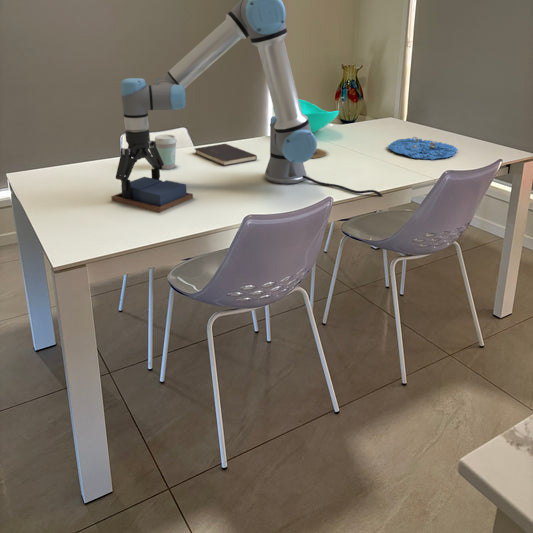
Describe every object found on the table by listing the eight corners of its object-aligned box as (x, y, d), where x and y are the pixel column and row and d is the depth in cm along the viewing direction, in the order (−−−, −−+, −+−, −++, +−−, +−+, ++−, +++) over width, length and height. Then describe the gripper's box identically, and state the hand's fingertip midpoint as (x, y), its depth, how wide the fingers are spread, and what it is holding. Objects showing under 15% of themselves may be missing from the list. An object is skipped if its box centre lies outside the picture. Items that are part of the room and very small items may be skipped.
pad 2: (187, 198, 195) (186, 184, 193) (160, 210, 185) (159, 195, 183) (167, 194, 199) (166, 180, 197) (140, 205, 189) (139, 190, 187)
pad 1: (163, 194, 199) (162, 180, 197) (140, 203, 190) (139, 189, 188) (145, 190, 202) (144, 176, 200) (122, 199, 194) (121, 184, 192)
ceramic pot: (294, 146, 262) (295, 130, 259) (332, 151, 255) (333, 134, 252) (277, 155, 248) (278, 138, 244) (317, 160, 241) (318, 143, 238)
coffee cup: (174, 171, 226) (172, 139, 221) (152, 169, 227) (150, 138, 222) (181, 165, 233) (179, 134, 228) (160, 163, 235) (158, 133, 230)
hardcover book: (223, 166, 232) (223, 160, 231) (194, 153, 249) (194, 148, 248) (256, 160, 241) (256, 154, 240) (226, 148, 257) (226, 143, 256)
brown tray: (193, 199, 196) (192, 193, 195) (159, 214, 183) (159, 208, 182) (146, 188, 206) (146, 183, 205) (112, 202, 193) (111, 196, 192)
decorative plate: (471, 160, 248) (474, 148, 245) (406, 163, 241) (408, 151, 238) (437, 141, 273) (439, 130, 270) (377, 143, 266) (379, 132, 264)
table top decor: (352, 138, 277) (354, 109, 271) (302, 144, 265) (303, 114, 259) (306, 122, 308) (307, 96, 303) (260, 127, 296) (260, 100, 290)
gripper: (154, 121, 198) (159, 182, 207) (99, 135, 179) (106, 201, 188) (171, 124, 195) (175, 185, 204) (117, 138, 175) (124, 206, 185)
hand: (142, 193), depth 196 cm, fingers open, 13 cm apart
